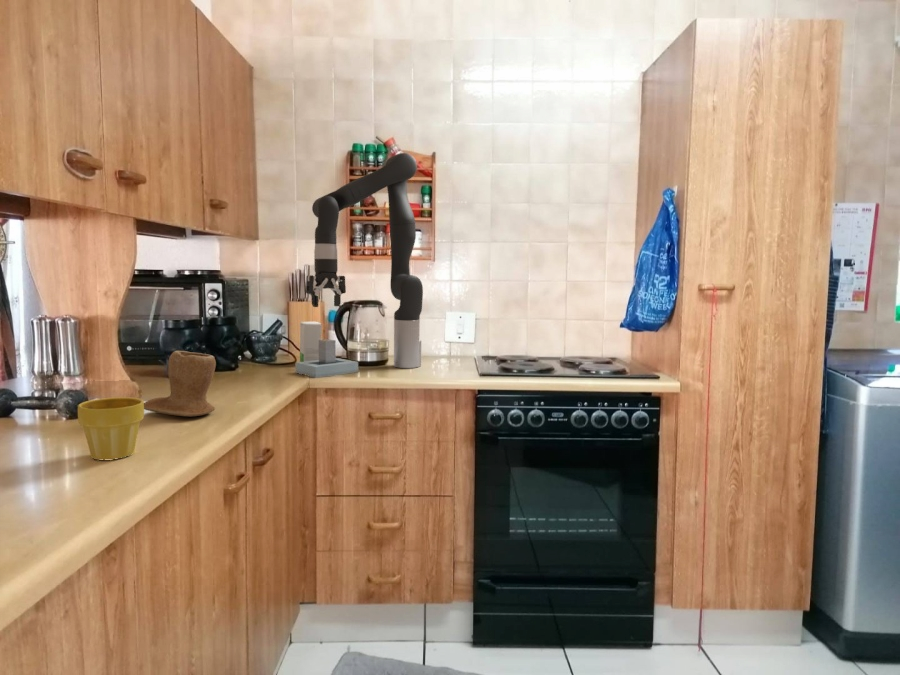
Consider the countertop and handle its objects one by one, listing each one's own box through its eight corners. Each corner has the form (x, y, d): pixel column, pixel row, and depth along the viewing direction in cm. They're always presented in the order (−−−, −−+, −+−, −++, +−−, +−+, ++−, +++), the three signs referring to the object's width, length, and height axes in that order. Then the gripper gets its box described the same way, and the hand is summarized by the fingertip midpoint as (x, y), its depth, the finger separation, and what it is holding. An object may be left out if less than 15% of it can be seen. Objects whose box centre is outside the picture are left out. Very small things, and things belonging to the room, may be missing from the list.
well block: (337, 367, 207) (337, 358, 206) (358, 371, 199) (358, 361, 198) (295, 373, 195) (295, 362, 194) (315, 377, 186) (315, 367, 186)
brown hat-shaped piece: (228, 412, 139) (226, 350, 138) (188, 423, 128) (186, 356, 127) (181, 405, 145) (179, 346, 144) (139, 415, 134) (137, 351, 133)
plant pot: (158, 448, 110) (156, 398, 108) (118, 466, 99) (116, 410, 98) (109, 445, 111) (107, 395, 110) (65, 462, 101) (62, 407, 100)
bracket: (334, 367, 201) (334, 338, 200) (341, 368, 198) (341, 339, 197) (312, 370, 195) (312, 340, 193) (319, 371, 192) (319, 341, 191)
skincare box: (299, 363, 216) (299, 321, 215) (317, 362, 219) (317, 321, 217) (304, 366, 209) (303, 323, 207) (322, 365, 211) (322, 322, 210)
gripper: (314, 257, 185) (314, 308, 187) (350, 258, 195) (350, 306, 197) (301, 257, 190) (301, 306, 192) (336, 258, 201) (337, 305, 202)
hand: (326, 306), depth 195 cm, fingers open, 8 cm apart
